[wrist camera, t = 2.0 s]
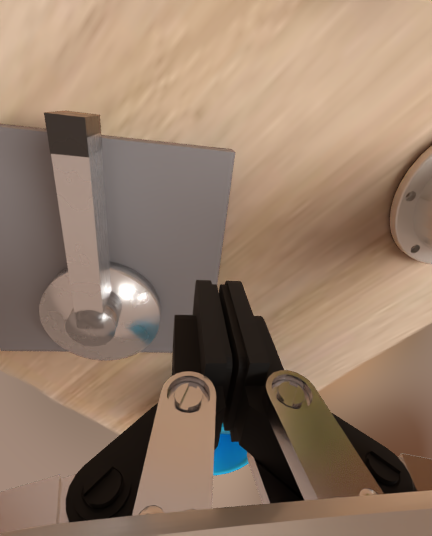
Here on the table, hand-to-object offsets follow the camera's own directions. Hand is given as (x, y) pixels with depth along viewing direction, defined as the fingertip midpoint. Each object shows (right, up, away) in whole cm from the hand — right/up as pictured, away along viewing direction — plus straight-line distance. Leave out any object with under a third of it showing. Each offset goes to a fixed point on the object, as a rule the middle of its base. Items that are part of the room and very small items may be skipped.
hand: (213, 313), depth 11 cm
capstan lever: (-9, +3, +13) cm, 16 cm away
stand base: (-10, +3, +15) cm, 18 cm away
